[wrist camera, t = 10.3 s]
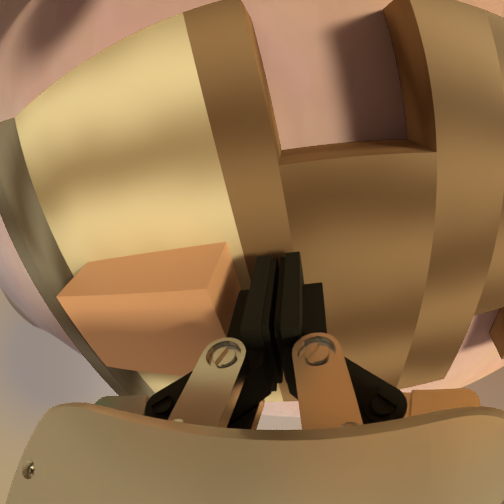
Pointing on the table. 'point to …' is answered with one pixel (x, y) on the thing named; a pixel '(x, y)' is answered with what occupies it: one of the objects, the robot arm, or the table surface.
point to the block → (154, 306)
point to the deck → (276, 182)
